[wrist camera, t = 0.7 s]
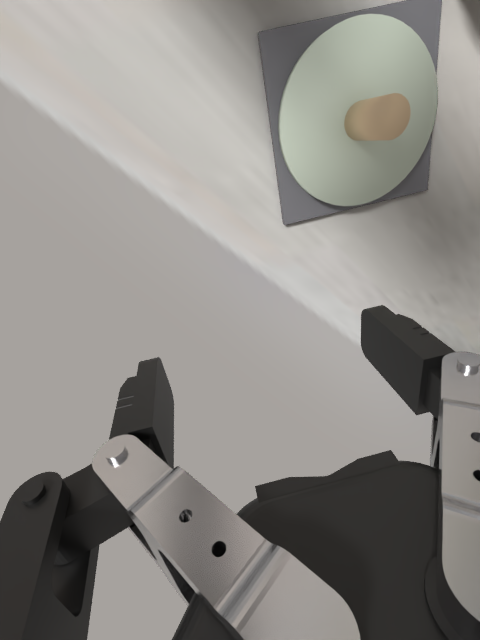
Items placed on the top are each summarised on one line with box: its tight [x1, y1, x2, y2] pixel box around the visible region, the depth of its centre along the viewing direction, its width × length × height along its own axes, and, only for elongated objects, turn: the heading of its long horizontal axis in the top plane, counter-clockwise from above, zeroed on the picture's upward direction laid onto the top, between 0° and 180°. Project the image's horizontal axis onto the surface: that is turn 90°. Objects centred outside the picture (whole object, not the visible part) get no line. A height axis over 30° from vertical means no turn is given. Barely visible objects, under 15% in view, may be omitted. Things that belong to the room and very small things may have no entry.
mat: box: [258, 0, 442, 225], centre depth 32 cm, size 16×16×1 cm
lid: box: [278, 14, 438, 206], centre depth 29 cm, size 15×15×6 cm
